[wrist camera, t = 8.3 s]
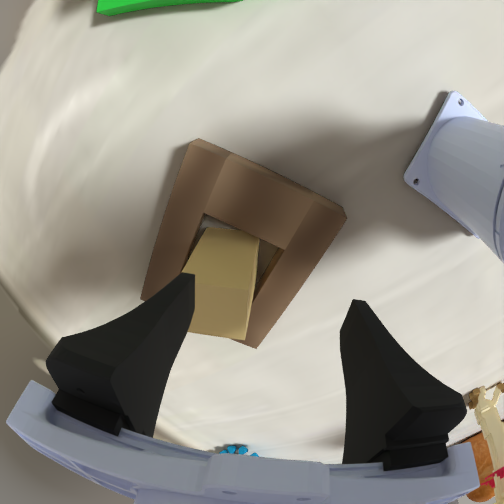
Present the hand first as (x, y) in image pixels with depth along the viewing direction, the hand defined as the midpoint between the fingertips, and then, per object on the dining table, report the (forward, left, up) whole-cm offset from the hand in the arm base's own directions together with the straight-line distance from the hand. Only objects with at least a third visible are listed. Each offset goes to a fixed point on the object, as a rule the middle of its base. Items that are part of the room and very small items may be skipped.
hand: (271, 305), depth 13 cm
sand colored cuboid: (+2, +4, -10) cm, 11 cm away
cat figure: (-41, +9, -10) cm, 43 cm away
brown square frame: (+2, +4, -9) cm, 10 cm away
